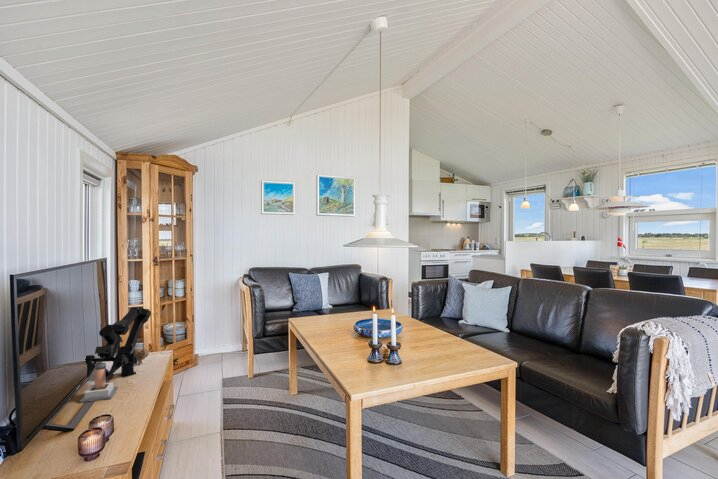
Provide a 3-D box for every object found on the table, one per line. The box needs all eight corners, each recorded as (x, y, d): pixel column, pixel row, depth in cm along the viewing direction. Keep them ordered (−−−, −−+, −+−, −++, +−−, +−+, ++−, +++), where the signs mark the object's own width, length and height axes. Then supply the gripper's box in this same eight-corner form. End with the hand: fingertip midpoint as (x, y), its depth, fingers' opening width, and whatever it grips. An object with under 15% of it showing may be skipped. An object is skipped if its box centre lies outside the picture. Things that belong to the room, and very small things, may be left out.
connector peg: (95, 392, 170) (96, 363, 170) (106, 390, 171) (106, 362, 172) (93, 395, 166) (93, 366, 166) (103, 394, 168) (104, 365, 168)
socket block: (88, 392, 172) (88, 383, 172) (117, 388, 176) (117, 380, 176) (79, 403, 161) (79, 394, 161) (110, 399, 165) (111, 390, 165)
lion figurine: (150, 362, 213) (150, 347, 213) (146, 365, 208) (146, 350, 207) (124, 362, 211) (125, 347, 211) (119, 365, 206) (120, 350, 206)
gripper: (84, 338, 171) (68, 370, 160) (125, 338, 173) (112, 369, 163) (94, 349, 179) (79, 380, 168) (133, 348, 181) (121, 379, 171)
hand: (98, 376), depth 167 cm, fingers open, 9 cm apart
